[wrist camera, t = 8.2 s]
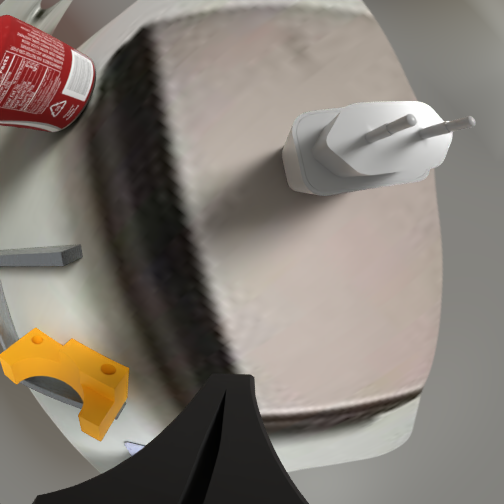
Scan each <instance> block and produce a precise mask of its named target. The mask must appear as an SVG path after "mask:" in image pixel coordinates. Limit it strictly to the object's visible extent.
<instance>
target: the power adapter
mask: <svg viewBox="0 0 504 504" xmlns="http://www.w3.org/2000/svg"><path fill="white" fill-rule="evenodd" d="M474 126H475V120H474V118H473V117H471V116H468V117H464V118H460V119H457V120H453V121H446V122H444V121H443V120H442V119H441V118H440V117H439V115H438V114H437V113H436V112H435V111H434V110H433V109H432V108H431V107H430V106H428V105H427V104H425V103H422V102H417V101H385V102H362V103H354V104H350V105H348V106H346V107H343V108H333V109H324V110H315V111H309V112H305V113H303V114H301V115H299V116H298V117H297V118H296V119H295V121H294V123H293V126H292V128H291V131H290V133H289V136H288V138H287V140H286V143H285V145H284V148H283V150H282V160H283V165H284V169H285V174H286V178H287V183H288V185H289V187H290V188H291V189H292V190H294V191H296V192H302V193H309V194H315V195H321V196H330V195H336V194H341V193H347V192H353V191H359V190H365V189H372V188H378V187H384V186H391V185H398V184H405V183H412V182H418V181H422V180H423V179H425V178H426V177H427V176H428V174H429V171H430V168H434V167H437V166H439V165H440V164H442V162H443V160H444V159H445V156H446V154H447V151H448V149H449V146H450V143H451V141H452V132H453V131H456V130H461V129H465V128H470V127H474Z"/></svg>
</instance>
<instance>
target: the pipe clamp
mask: <svg viewBox="0 0 504 504" xmlns="http://www.w3.org/2000/svg"><path fill="white" fill-rule="evenodd" d="M0 361H1V364H2V367H3V370H4V374H5V375H6V376H7V377H9V379H11V380H12V381H13V382H14V383H15V384H18V383H19V382H21V381H22V380H24V379H26V378H29V377H33V376H48V377H53V378H56V379H59V380H61V381H63V382H65V383H67V384H68V385H70V386H71V387H72V388H73V389H75V390H76V392H77V393H78V394H79V395H80V397H81V398H82V400H83V406H82V409H81V411H80V413H79V415H78V417H79V421H80V426H81V430H82V431H83V432H84V433H86V434H88V435H90V436H91V437H93V438H95V439H97V440H99V441H102V439H103V437H104V436H105V434H106V432H107V431H108V429H109V427H110V426H111V424H112V422H113V421H114V419H115V417H116V416H117V414H118V412H119V411H120V409H121V407H122V406H123V404H124V402H125V401H126V399H127V394H128V378H129V368H127V367H125V366H123V365H121V364H119V363H117V362H115V361H113V360H111V359H109V358H107V357H105V356H103V355H101V354H99V353H97V352H95V351H94V350H92V349H90V348H88V347H86V346H84V345H83V344H81V343H79V342H77V341H76V340H74V339H71V340H69V341H68V342H67V343H66V344H65V345H64V346H63V345H61V344H59V343H58V342H56V341H55V340H53V339H52V338H50V337H49V336H47V335H46V334H44V333H43V332H41V331H40V330H39V329H37V328H34V329H33V330H31V331H30V332H29V333H27V334H26V335H25V336H23V337H22V338H21V339H19V340H18V341H17V342H15V343H14V344H13V345H11V346H10V347H9V348H8V349H6V350H5V351H4V352H2V353H1V354H0Z"/></svg>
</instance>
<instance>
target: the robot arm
mask: <svg viewBox="0 0 504 504" xmlns="http://www.w3.org/2000/svg"><path fill="white" fill-rule="evenodd" d="M125 446H126V448H127V449H128V451H129V453H130V454H131V457H130V458H128V459H126V460H125V461H123V462H122V463H120V464H119V465H117V466H115V467H114V468H112V469H110V470H108V471H106V472H105V473H103V474H100V475H98V476H96V477H94V478H92V479H89V480H87V481H85V482H83V483H81V484H78V485H75V486H73V487H69V488H66V489H62V490H59V491H55V492H51V493H47V494H43V495H38V496H37V497H36V499H35V500H34V502H33V503H32V504H309V503H308V502H307V501H306V499H305V498H304V497H303V495H302V494H301V493H300V491H299V490H298V489H297V487H296V486H295V484H294V483H293V481H292V480H291V479H290V476H289V475H288V473H287V472H286V470H285V468H284V466H283V465H282V463H281V461H280V459H279V457H278V456H277V454H276V452H275V450H274V448H273V445H272V443H271V441H270V439H269V436H268V434H267V432H266V429H265V427H264V424H263V421H262V418H261V415H260V412H259V409H258V405H257V401H256V397H255V382H254V377H253V376H252V375H245V374H212V375H211V376H210V377H209V378H208V380H207V381H206V382H205V384H204V385H203V386H202V388H201V389H200V390H199V392H198V393H197V394H196V395H195V397H194V398H193V399H192V400H191V402H190V403H189V404H188V405H187V406H186V407H185V408H184V409H183V411H182V412H181V413H180V414H179V415H178V416H177V417H176V418H175V419H174V420H173V421H172V422H171V423H170V424H169V425H168V426H167V427H166V428H165V429H164V430H163V431H162V432H161V433H160V434H159V435H158V436H157V437H156V438H154V439H153V440H152V441H151V442H150V443H148V444H147V445H146V446H141V445H137V444H133V443H129V442H126V443H125Z"/></svg>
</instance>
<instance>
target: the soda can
mask: <svg viewBox="0 0 504 504" xmlns="http://www.w3.org/2000/svg"><path fill="white" fill-rule="evenodd" d="M95 81H96V68H95V65H94V62H93V61H92V60H91V58H89V57H88V56H86V55H84V54H83V53H81V52H79V51H78V50H76V49H74V48H72V47H71V46H69V45H67V44H65V43H64V42H62V41H60V40H58V39H56V38H54V37H53V36H51V35H49V34H47V33H45V32H43V31H41V30H39V29H37V28H35V27H33V26H31V25H29V24H27V23H25V22H23V21H21V20H19V19H17V18H14V17H12V16H10V15H3V16H0V126H10V127H18V128H26V129H34V130H41V131H47V132H57V131H60V130H63V129H65V128H66V127H68V126H69V125H70V124H71V123H73V122H74V121H75V120H76V119H77V117H78V116H79V115H80V114H81V113H82V111H83V110H84V108H85V107H86V105H87V103H88V101H89V99H90V97H91V95H92V92H93V89H94V86H95Z"/></svg>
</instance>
